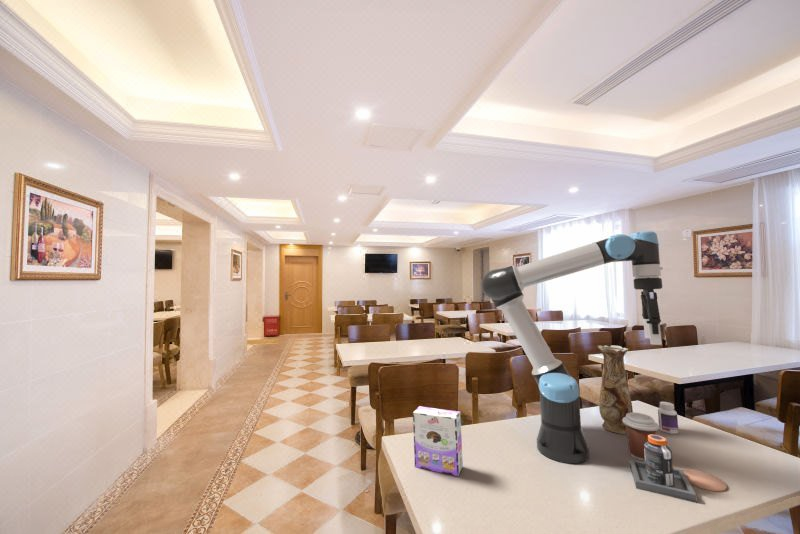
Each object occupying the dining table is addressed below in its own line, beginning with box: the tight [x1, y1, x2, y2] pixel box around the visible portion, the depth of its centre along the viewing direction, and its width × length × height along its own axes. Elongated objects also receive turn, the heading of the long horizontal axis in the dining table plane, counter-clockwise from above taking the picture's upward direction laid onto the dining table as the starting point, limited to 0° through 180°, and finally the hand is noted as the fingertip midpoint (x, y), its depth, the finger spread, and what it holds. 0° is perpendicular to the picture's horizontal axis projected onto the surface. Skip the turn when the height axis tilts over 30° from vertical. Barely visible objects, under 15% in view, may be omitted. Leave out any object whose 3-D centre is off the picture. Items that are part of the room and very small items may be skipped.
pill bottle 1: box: [657, 401, 680, 435], centre depth 114 cm, size 5×5×10 cm
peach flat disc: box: [682, 468, 727, 493], centre depth 85 cm, size 9×9×1 cm
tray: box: [629, 459, 698, 504], centre depth 85 cm, size 12×12×2 cm
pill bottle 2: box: [644, 434, 674, 486], centre depth 85 cm, size 6×6×11 cm
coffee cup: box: [622, 411, 660, 462], centre depth 98 cm, size 9×9×12 cm
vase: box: [597, 344, 634, 435], centre depth 118 cm, size 10×11×30 cm
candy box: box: [412, 405, 464, 477], centre depth 95 cm, size 14×6×16 cm, turn 65°
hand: (652, 341), depth 104 cm, fingers open, 13 cm apart
